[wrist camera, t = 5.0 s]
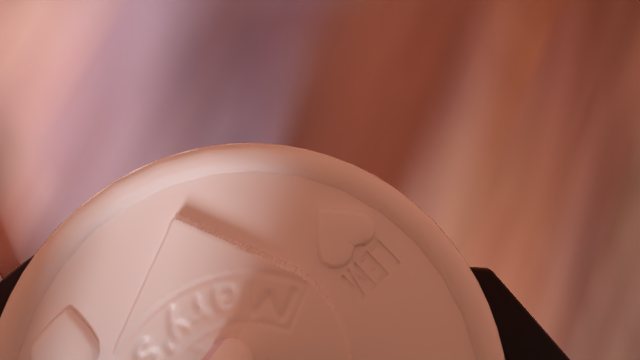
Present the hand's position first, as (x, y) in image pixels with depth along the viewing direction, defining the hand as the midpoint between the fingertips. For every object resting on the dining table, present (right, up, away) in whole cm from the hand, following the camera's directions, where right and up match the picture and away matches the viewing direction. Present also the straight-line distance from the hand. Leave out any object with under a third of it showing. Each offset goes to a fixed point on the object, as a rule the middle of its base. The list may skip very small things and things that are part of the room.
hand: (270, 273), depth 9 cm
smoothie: (0, -2, +7) cm, 7 cm away
